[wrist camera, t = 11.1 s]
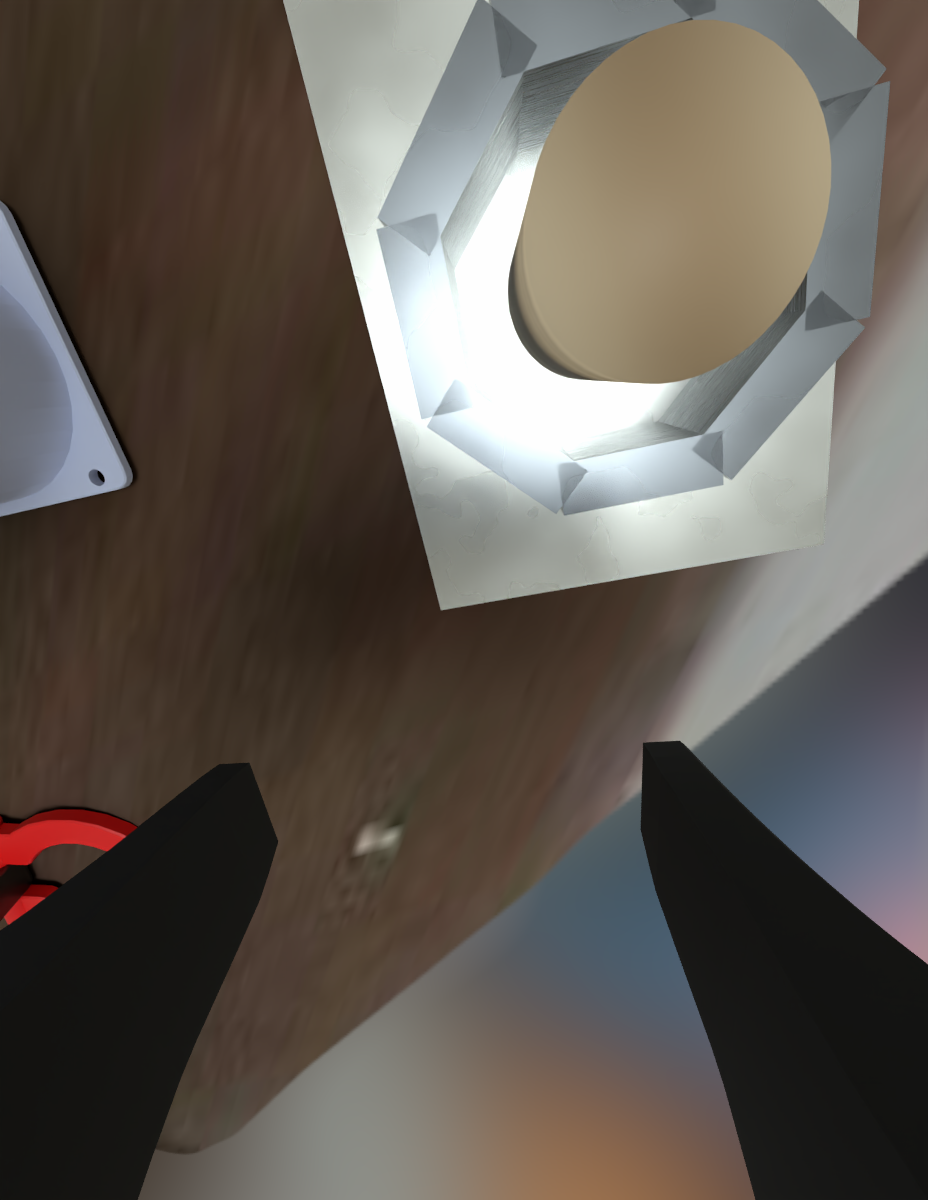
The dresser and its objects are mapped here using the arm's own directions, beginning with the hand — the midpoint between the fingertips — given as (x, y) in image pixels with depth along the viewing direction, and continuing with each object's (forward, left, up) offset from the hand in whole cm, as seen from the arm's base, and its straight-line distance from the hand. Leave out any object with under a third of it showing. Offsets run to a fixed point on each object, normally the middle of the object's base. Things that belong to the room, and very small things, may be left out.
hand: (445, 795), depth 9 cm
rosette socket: (+5, +8, -9) cm, 13 cm away
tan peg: (+5, +8, -8) cm, 13 cm away
